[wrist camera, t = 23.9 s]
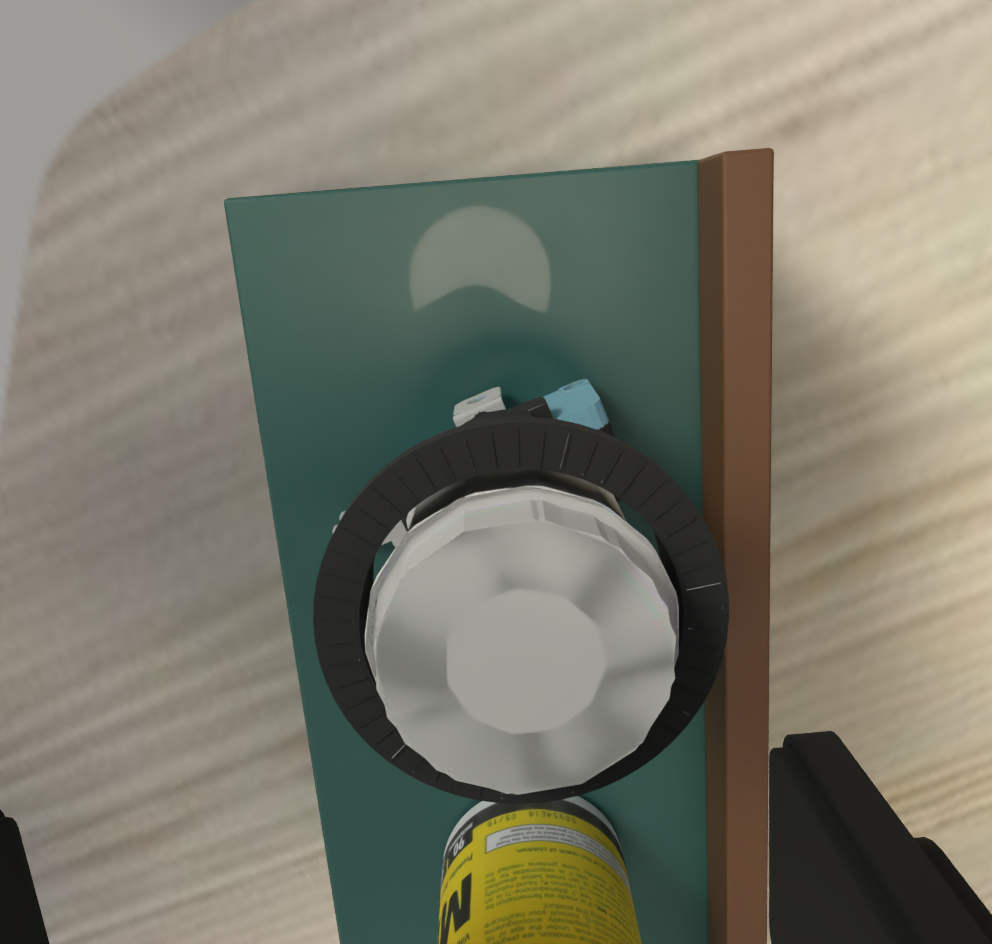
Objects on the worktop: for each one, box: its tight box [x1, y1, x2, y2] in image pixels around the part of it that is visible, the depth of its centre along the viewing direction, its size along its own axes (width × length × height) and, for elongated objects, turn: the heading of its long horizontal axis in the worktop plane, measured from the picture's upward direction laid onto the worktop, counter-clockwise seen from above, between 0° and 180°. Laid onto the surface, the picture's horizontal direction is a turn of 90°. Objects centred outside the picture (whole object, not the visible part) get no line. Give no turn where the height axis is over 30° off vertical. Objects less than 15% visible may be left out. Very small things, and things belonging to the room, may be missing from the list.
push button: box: [313, 379, 729, 804], centre depth 15 cm, size 7×5×10 cm
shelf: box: [224, 148, 774, 944], centre depth 23 cm, size 11×22×8 cm, turn 4°
